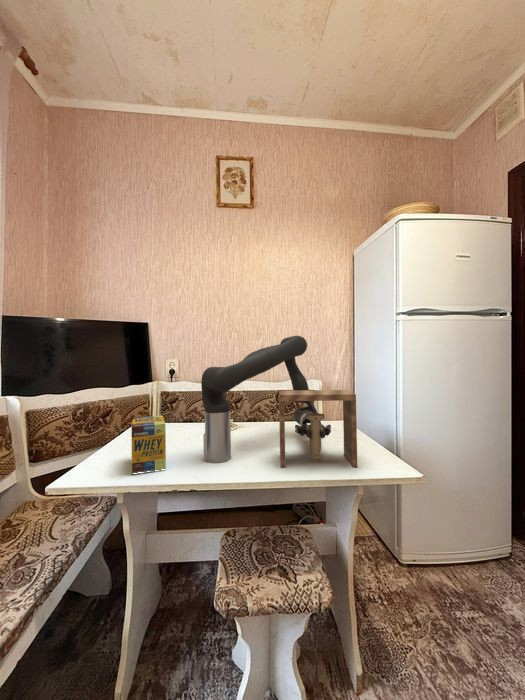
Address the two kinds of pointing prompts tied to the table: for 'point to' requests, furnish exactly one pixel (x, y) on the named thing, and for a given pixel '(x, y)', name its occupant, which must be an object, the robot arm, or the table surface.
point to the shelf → (324, 395)
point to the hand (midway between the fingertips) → (316, 435)
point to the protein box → (148, 444)
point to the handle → (315, 433)
